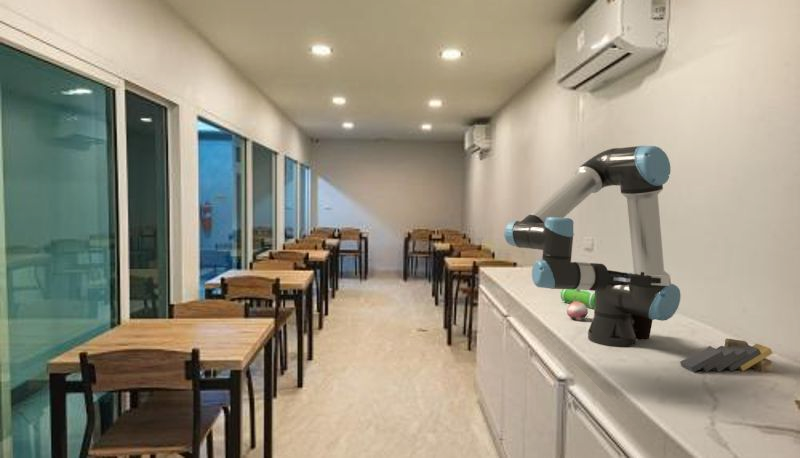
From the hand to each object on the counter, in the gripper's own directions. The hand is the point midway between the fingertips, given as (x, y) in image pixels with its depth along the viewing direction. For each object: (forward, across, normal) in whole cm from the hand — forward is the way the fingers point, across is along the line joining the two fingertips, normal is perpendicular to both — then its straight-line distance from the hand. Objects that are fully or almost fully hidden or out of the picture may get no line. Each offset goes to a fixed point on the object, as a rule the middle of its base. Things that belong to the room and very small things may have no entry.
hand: (667, 280), depth 147 cm
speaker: (+19, -86, -19) cm, 90 cm away
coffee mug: (+15, -35, -22) cm, 44 cm away
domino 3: (+15, 0, -24) cm, 28 cm away
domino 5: (+23, 0, -23) cm, 32 cm away
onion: (+5, -60, -22) cm, 64 cm away
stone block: (+31, -9, -23) cm, 40 cm away
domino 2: (+12, 0, -24) cm, 27 cm away
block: (+30, 0, -24) cm, 38 cm away
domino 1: (+8, -1, -24) cm, 25 cm away
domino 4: (+19, 0, -24) cm, 30 cm away
